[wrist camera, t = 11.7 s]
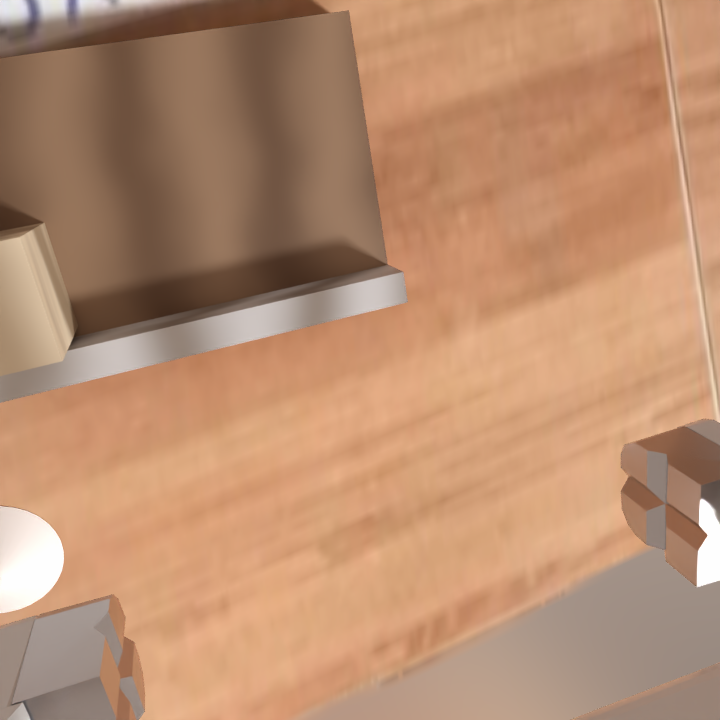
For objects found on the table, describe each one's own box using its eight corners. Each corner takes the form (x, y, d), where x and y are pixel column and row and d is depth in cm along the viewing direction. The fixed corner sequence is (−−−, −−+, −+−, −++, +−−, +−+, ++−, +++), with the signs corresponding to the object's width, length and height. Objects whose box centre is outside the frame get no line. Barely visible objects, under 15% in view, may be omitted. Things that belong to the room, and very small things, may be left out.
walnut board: (337, 18, 33) (363, -1, 29) (380, 286, 38) (407, 302, 34) (-150, 86, 28) (-201, 74, 24) (-31, 384, 33) (-56, 416, 29)
